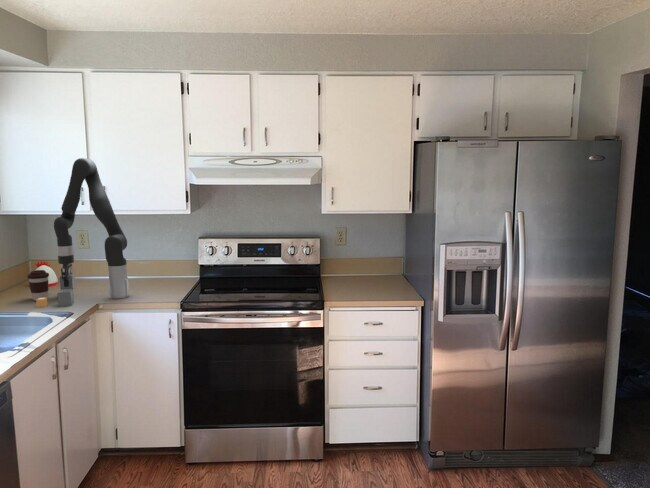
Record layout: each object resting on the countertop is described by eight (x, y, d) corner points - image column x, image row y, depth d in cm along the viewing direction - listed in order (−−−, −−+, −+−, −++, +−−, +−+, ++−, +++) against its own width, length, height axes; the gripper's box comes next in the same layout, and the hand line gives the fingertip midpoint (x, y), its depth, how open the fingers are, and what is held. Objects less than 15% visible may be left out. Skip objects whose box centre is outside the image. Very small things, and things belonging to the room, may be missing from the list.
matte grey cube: (74, 302, 270) (73, 289, 269) (71, 305, 265) (70, 292, 264) (61, 303, 269) (60, 290, 268) (58, 306, 263) (57, 292, 262)
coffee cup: (27, 302, 272) (24, 273, 270) (32, 297, 282) (29, 270, 280) (48, 300, 275) (46, 272, 273) (52, 296, 285) (50, 268, 282)
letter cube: (47, 305, 267) (47, 297, 266) (45, 307, 263) (45, 299, 262) (39, 305, 266) (38, 297, 265) (37, 307, 262) (36, 299, 261)
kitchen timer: (32, 283, 316) (30, 259, 314) (58, 281, 322) (56, 257, 319) (30, 288, 303) (28, 262, 301) (57, 286, 309) (55, 260, 307)
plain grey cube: (75, 286, 285) (74, 273, 284) (72, 289, 279) (71, 276, 278) (63, 287, 283) (62, 274, 282) (60, 289, 277) (59, 276, 276)
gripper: (70, 256, 272) (72, 288, 275) (76, 251, 286) (78, 282, 289) (54, 256, 271) (56, 288, 273) (61, 252, 284) (63, 282, 287)
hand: (67, 285), depth 281 cm, fingers closed on plain grey cube, 6 cm apart
